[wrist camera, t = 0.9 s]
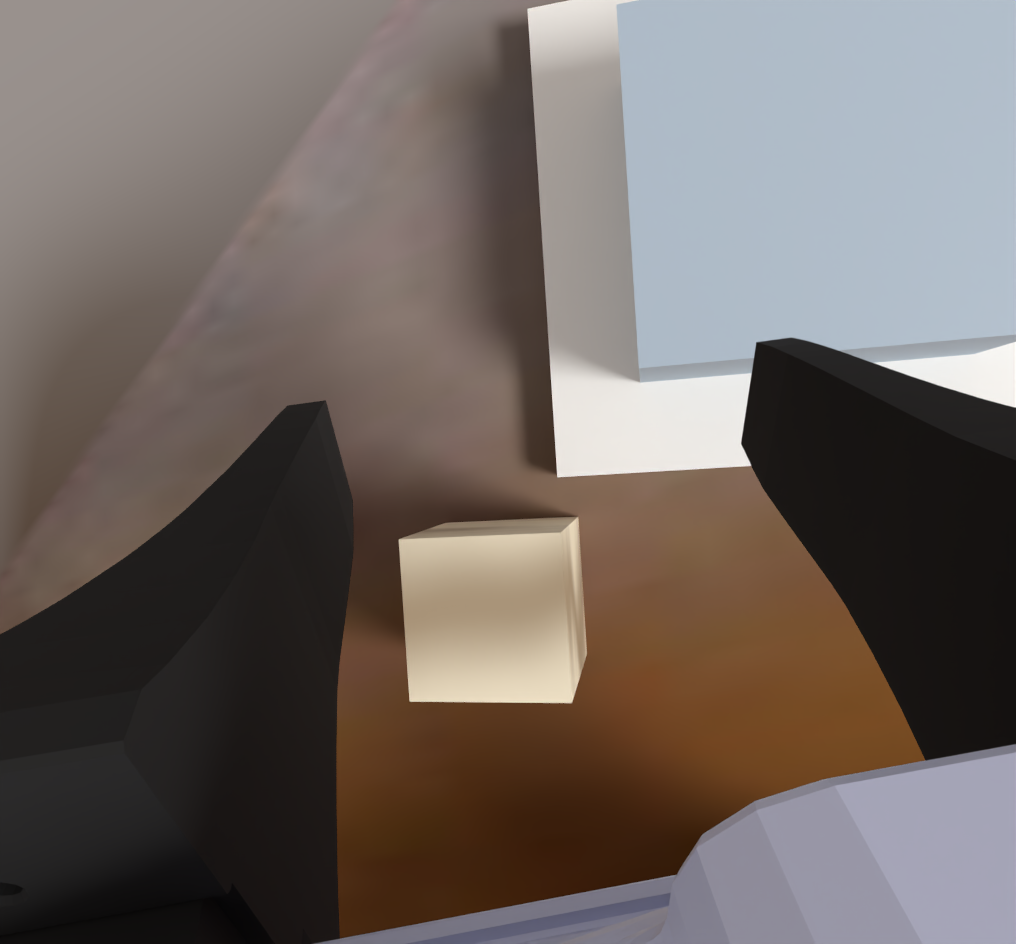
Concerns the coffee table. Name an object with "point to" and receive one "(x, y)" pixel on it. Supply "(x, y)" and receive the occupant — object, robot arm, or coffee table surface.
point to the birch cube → (494, 611)
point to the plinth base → (766, 207)
